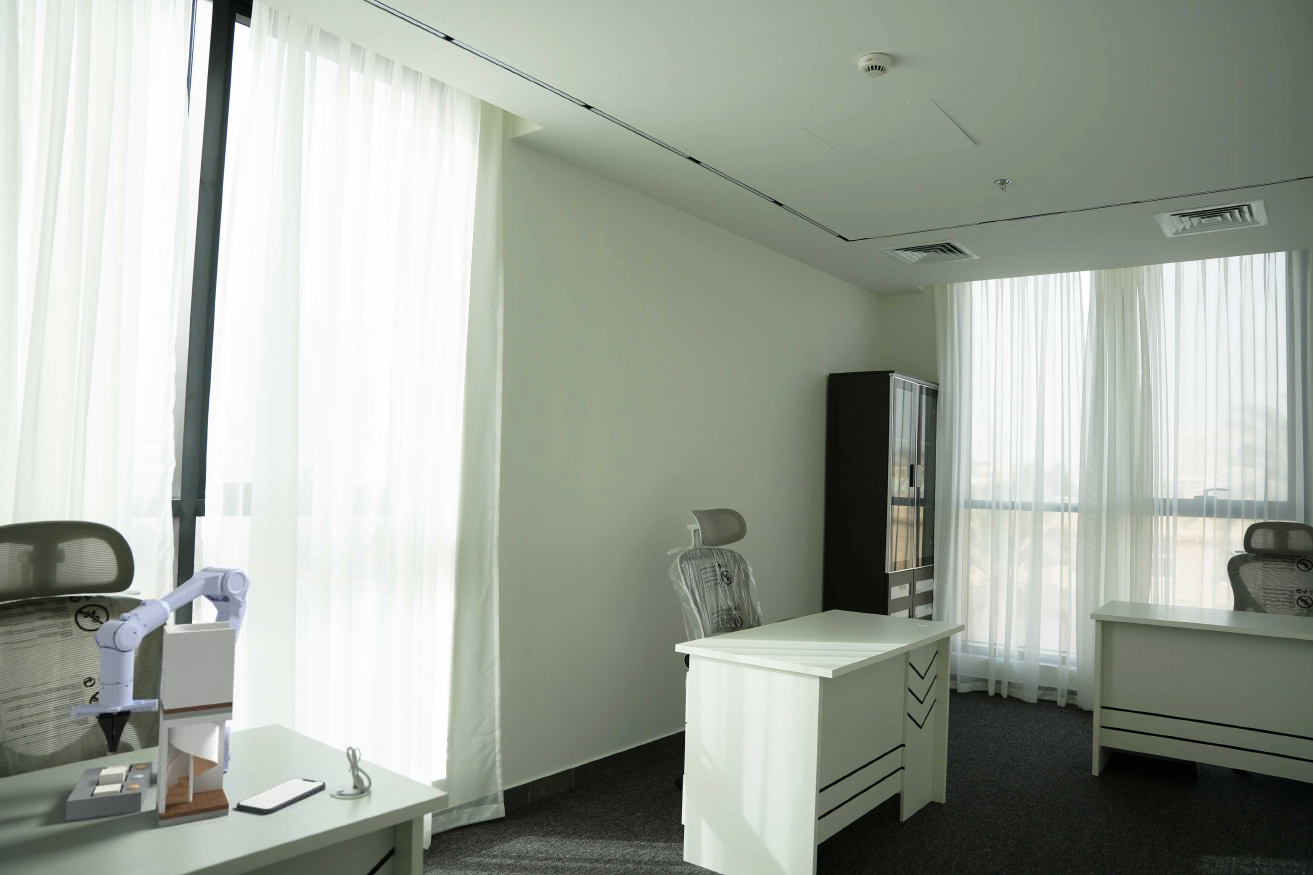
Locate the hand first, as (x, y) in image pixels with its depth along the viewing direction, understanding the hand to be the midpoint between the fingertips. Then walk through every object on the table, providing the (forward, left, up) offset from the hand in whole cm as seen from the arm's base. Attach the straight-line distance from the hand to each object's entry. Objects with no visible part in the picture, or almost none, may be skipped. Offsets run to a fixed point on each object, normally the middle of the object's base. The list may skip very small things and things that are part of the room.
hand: (113, 750), depth 169 cm
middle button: (0, -1, -7) cm, 7 cm away
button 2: (0, -8, -9) cm, 12 cm away
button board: (0, -1, -10) cm, 10 cm away
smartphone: (-31, +12, -10) cm, 35 cm away
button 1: (0, +5, -9) cm, 10 cm away
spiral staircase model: (-15, +13, -10) cm, 22 cm away
